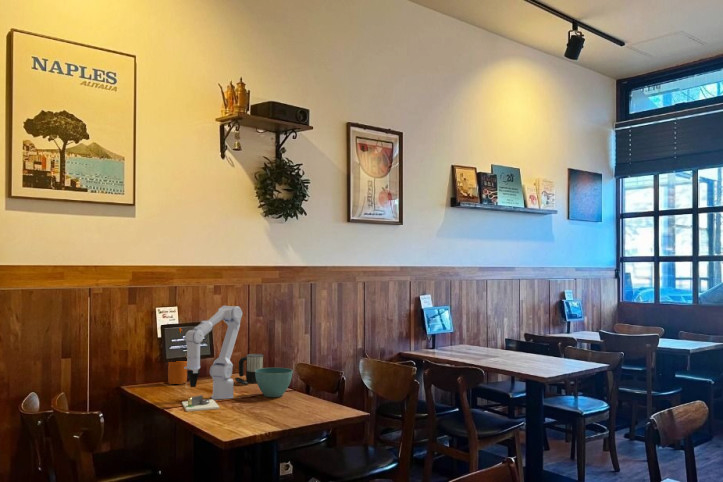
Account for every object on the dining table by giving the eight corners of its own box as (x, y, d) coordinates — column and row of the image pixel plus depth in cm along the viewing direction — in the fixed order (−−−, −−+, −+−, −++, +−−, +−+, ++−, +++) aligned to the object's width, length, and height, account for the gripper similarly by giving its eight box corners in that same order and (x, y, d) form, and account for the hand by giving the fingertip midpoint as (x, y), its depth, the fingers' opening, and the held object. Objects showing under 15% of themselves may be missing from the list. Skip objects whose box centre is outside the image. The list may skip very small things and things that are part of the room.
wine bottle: (190, 383, 324) (192, 327, 325) (176, 386, 315) (178, 328, 317) (178, 381, 329) (179, 326, 330) (163, 384, 320) (165, 327, 322)
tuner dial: (204, 401, 273) (204, 393, 274) (211, 402, 270) (211, 395, 270) (184, 405, 265) (184, 397, 265) (191, 406, 262) (192, 398, 262)
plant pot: (281, 390, 305) (282, 366, 306) (298, 396, 290) (299, 371, 291) (248, 394, 295) (249, 369, 296) (264, 401, 280) (265, 374, 281)
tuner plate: (213, 401, 279) (213, 399, 279) (219, 408, 264) (219, 406, 264) (181, 403, 274) (181, 401, 274) (186, 411, 258) (186, 409, 258)
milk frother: (263, 380, 334) (264, 353, 334) (260, 385, 318) (261, 357, 319) (238, 380, 333) (238, 353, 334) (233, 385, 317) (234, 357, 318)
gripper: (182, 355, 278) (182, 384, 277) (186, 359, 265) (185, 390, 264) (198, 354, 281) (197, 383, 280) (202, 358, 267) (202, 389, 267)
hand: (193, 386), depth 272 cm, fingers closed
